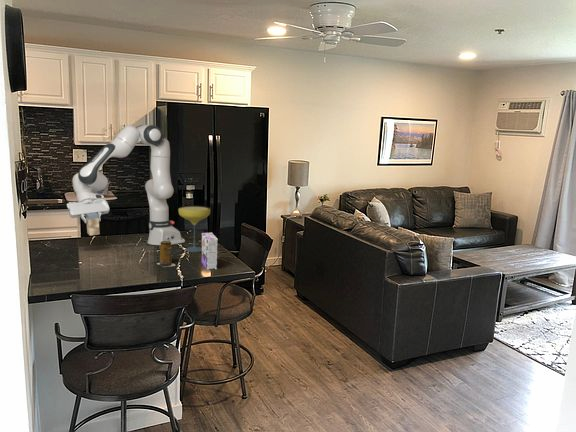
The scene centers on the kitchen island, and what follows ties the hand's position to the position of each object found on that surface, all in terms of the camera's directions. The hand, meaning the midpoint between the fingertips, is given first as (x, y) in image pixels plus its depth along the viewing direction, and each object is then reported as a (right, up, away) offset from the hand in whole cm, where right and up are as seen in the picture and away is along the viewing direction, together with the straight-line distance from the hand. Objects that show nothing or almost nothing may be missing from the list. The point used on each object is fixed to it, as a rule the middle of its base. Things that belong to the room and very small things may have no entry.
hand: (92, 221), depth 243 cm
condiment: (+41, -22, -7) cm, 47 cm away
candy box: (+63, -23, -6) cm, 68 cm away
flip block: (-1, -6, +2) cm, 7 cm away
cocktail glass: (+49, -17, +25) cm, 58 cm away
